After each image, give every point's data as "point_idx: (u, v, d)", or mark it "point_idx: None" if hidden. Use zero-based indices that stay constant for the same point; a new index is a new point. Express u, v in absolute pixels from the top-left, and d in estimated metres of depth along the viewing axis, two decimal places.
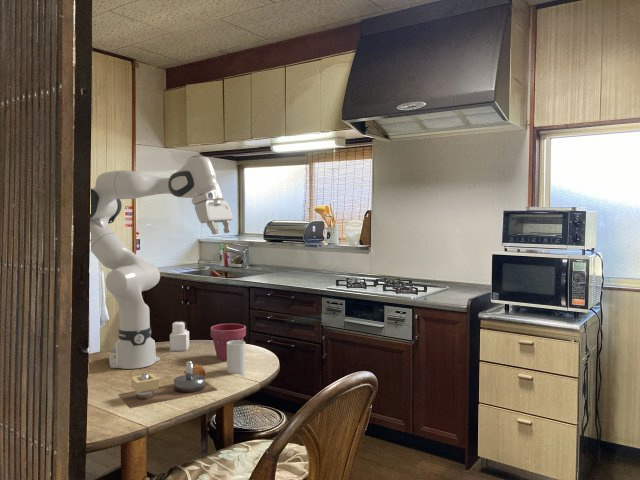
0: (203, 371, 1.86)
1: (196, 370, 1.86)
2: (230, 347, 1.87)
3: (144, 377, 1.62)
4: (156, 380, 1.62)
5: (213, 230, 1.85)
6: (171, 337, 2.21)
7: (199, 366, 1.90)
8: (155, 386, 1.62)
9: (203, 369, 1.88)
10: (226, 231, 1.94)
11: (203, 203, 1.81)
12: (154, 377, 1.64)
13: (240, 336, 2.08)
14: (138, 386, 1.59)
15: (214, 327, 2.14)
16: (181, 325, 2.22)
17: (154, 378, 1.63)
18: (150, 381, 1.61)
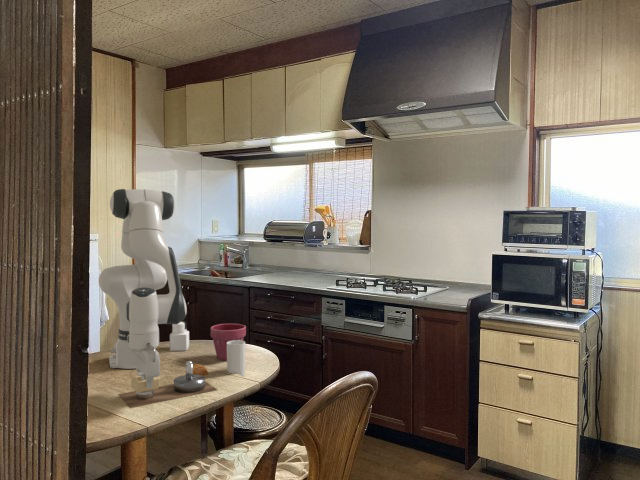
0: (206, 370, 1.87)
1: (199, 369, 1.87)
2: (230, 347, 1.87)
3: (144, 377, 1.62)
4: (156, 380, 1.62)
5: None
6: (171, 337, 2.21)
7: (201, 365, 1.90)
8: (155, 386, 1.62)
9: (205, 368, 1.89)
10: None
11: None
12: (154, 377, 1.64)
13: (240, 336, 2.08)
14: (138, 386, 1.59)
15: (214, 327, 2.14)
16: (181, 325, 2.22)
17: (154, 378, 1.63)
18: None
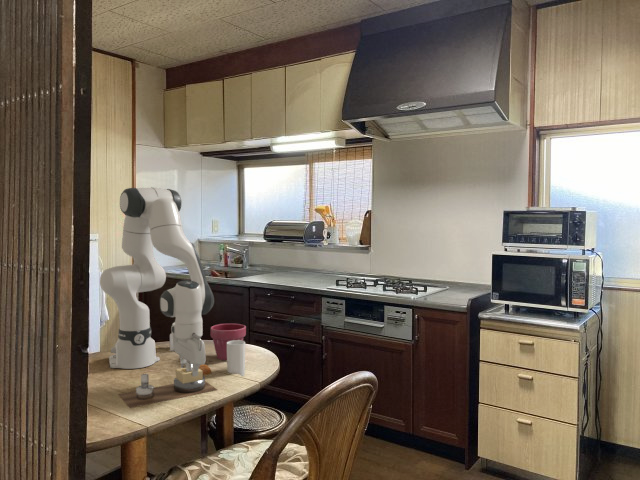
0: (209, 369, 1.89)
1: (202, 368, 1.88)
2: (230, 347, 1.87)
3: (144, 377, 1.62)
4: (200, 372, 1.70)
5: None
6: (171, 337, 2.21)
7: None
8: (199, 378, 1.70)
9: (208, 367, 1.91)
10: None
11: None
12: (198, 369, 1.72)
13: (240, 336, 2.08)
14: (183, 377, 1.67)
15: (214, 327, 2.14)
16: None
17: (198, 370, 1.71)
18: None
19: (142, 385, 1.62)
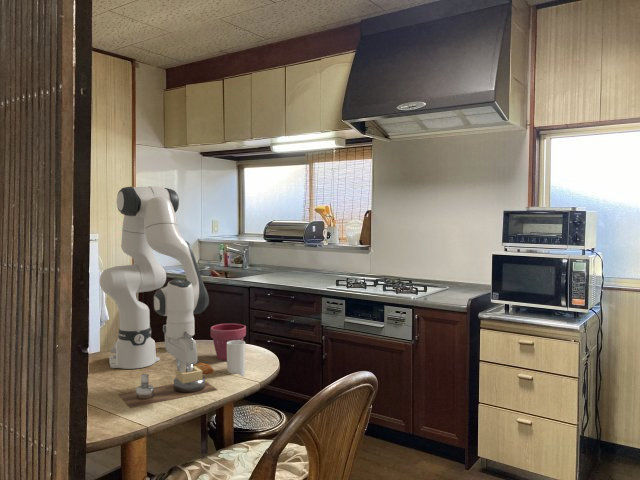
0: (211, 368, 1.90)
1: (205, 368, 1.89)
2: (230, 347, 1.87)
3: (144, 377, 1.62)
4: (200, 372, 1.70)
5: None
6: None
7: (206, 364, 1.92)
8: (199, 378, 1.70)
9: (210, 367, 1.91)
10: None
11: None
12: (198, 369, 1.72)
13: (240, 336, 2.08)
14: (183, 377, 1.67)
15: (214, 327, 2.14)
16: None
17: (198, 370, 1.71)
18: (195, 373, 1.69)
19: (142, 385, 1.62)
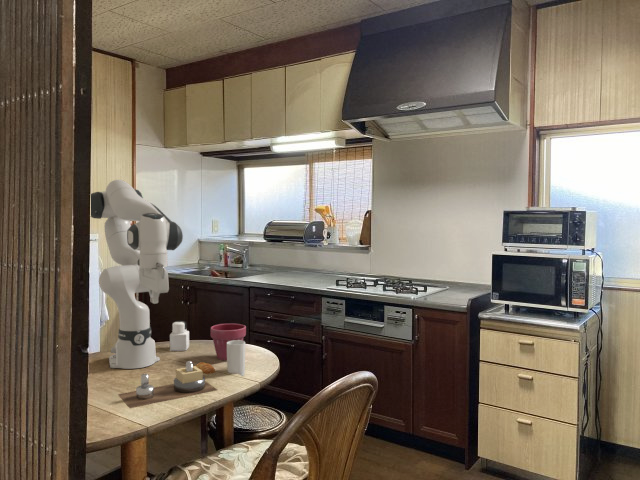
0: (213, 368, 1.90)
1: (206, 367, 1.89)
2: (230, 347, 1.87)
3: (144, 377, 1.62)
4: (200, 372, 1.70)
5: None
6: (171, 337, 2.21)
7: (207, 363, 1.93)
8: (199, 378, 1.70)
9: (212, 366, 1.92)
10: None
11: None
12: (198, 369, 1.72)
13: (240, 336, 2.08)
14: (183, 377, 1.67)
15: (214, 327, 2.14)
16: (181, 325, 2.22)
17: (198, 370, 1.71)
18: (195, 373, 1.69)
19: (142, 385, 1.62)
